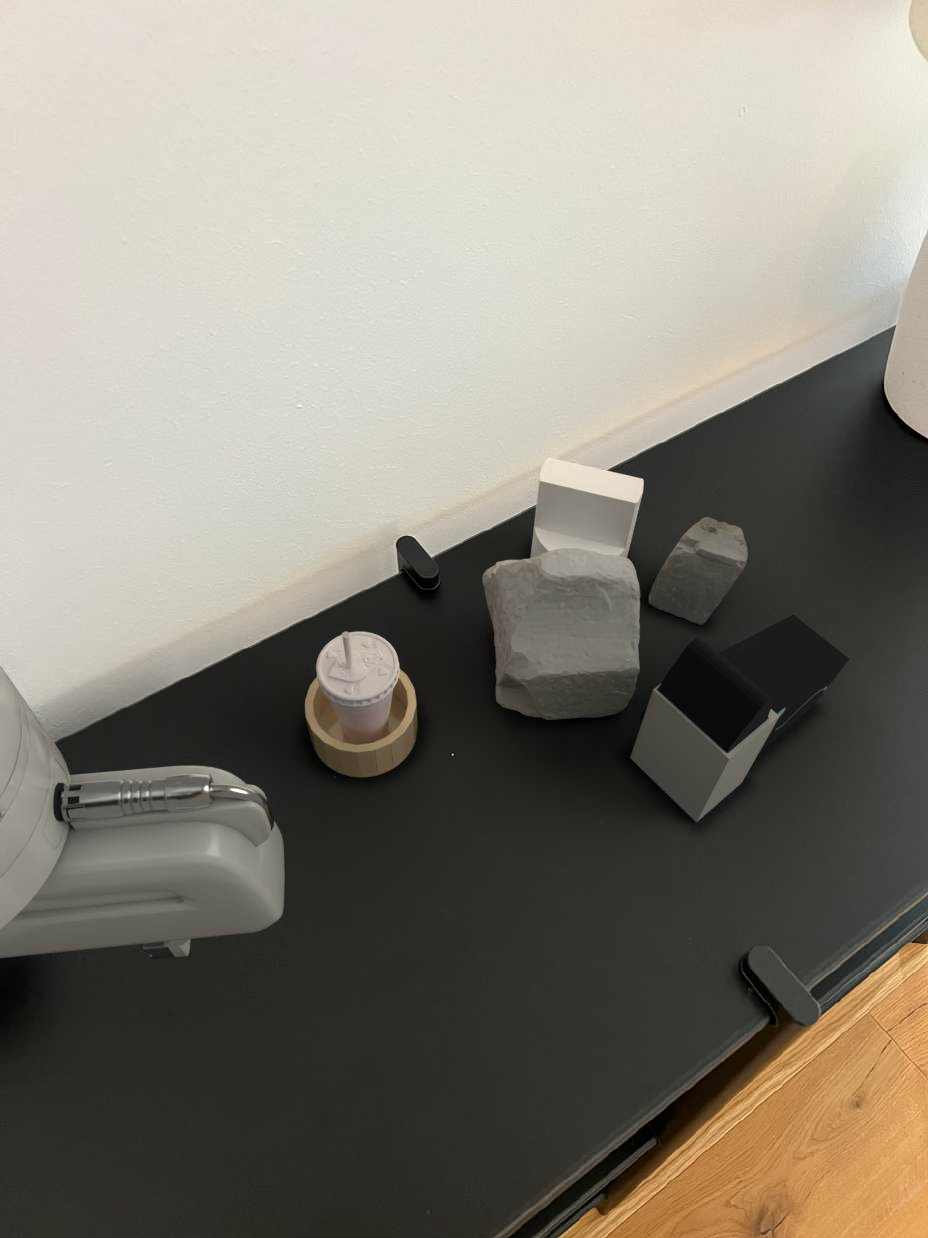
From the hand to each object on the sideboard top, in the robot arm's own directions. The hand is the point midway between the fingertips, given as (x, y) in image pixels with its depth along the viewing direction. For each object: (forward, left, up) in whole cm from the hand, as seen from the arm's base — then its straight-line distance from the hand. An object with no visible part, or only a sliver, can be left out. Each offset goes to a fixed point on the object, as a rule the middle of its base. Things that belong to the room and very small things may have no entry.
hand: (56, 950), depth 39 cm
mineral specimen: (+31, +49, -31) cm, 66 cm away
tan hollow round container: (+4, +29, -31) cm, 43 cm away
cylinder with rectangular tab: (+20, +50, -31) cm, 62 cm away
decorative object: (+35, +35, -31) cm, 59 cm away
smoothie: (+4, +29, -31) cm, 42 cm away
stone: (+19, +38, -31) cm, 53 cm away
